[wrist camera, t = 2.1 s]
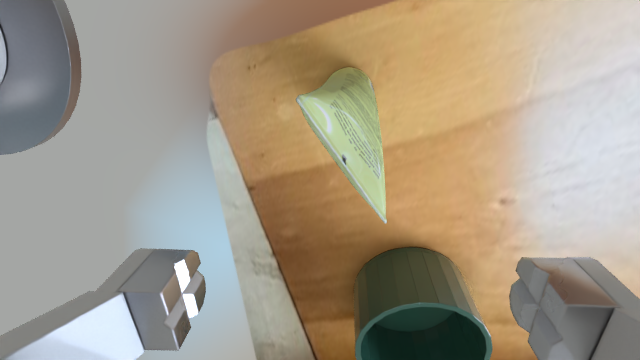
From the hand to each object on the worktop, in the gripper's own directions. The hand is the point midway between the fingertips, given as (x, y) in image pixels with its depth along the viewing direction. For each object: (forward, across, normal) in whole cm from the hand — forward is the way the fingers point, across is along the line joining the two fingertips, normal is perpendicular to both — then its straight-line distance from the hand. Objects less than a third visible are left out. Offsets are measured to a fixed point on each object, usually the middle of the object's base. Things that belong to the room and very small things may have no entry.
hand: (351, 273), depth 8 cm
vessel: (+27, -8, +26) cm, 38 cm away
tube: (+27, 0, 0) cm, 27 cm away
